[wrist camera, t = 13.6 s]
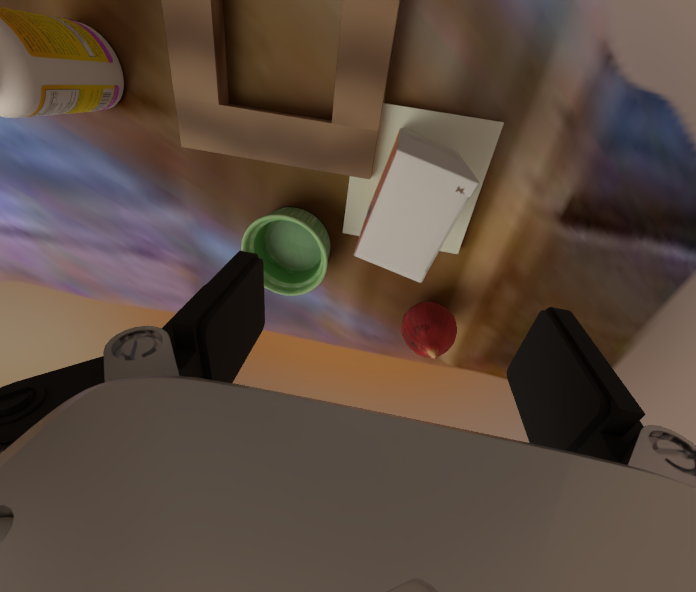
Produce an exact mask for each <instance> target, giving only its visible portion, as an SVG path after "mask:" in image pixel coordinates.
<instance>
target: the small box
mask: <svg viewBox="0 0 696 592" xmlns="http://www.w3.org/2000/svg"><path fill="white" fill-rule="evenodd" d="M479 184H480V183H479V181H478V179H477V178H476V177H475V175H474V174H473V172H472V171H471V170H470V168H469V167H468V166H467V164H466V163H465V162H464V160H463V158H462V157H461V156H460V154H459V153H458V152H457V151H454V150H452V149H450V148H447V147H445V146H443V145H440V144H438V143H436V142H434V141H431V140H429V139H427V138H424V137H422V136H420V135H417V134H415V133H413V132H410V131H408V130H406V129H403V128H400V129H399V132H398V135H397V137H396V140H395V143H394V145H393V148H392V150H391V153H390V155H389V158H388V161H387V163H386V166H385V168H384V170H383V173H382V175H381V178H380V180H379V183H378V185H377V188H376V190H375V193H374V195H373V197H372V200H371V202H370V205H369V207H368V211H367V214H366V217H365V220H364V223H363V227H362V230H361V233H360V235H359V239H358V242H357V245H356V248H355V251H354V256H356V257H358V258H361V259H363V260H366V261H368V262H371V263H373V264H375V265H378V266H380V267H383V268H385V269H388V270H390V271H393V272H395V273H397V274H400V275H402V276H405V277H407V278H410V279H412V280H415V281H417V282H420V283H421V282H422V281H423V280H424V278H425V276H426V274H427V272H428V270H429V268H430V266H431V264H432V262H433V261H434V259H435V257H436V255H437V254H438V252H439V250H440V249H441V247H442V245H443V243H444V242H445V240H446V238H447V236H448V235H449V233H450V231H451V230H452V228H453V226H454V224H455V223H456V221H457V219H458V218H459V216H460V214H461V213H462V211H463V209H464V208H465V206H466V204H467V203H468V201H469V200H470V198H471V197H472V195H473V194H474V192H475V191H476V189H477V188H478V186H479Z"/></svg>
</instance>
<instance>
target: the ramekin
mask: <svg viewBox="0 0 696 592" xmlns="http://www.w3.org/2000/svg"><path fill="white" fill-rule="evenodd" d="M241 251H245V252H251V253H256V254H258V257H259V258H260V259H263V264H264V287H265V288H267V289H268V290H271V291H273V292H275V293H278V294H282V295H301V294H305V293H307V292H310V291H312V290H313V289H315V288H316V287H317V286H318V285H319V284H320V283H321V282H322V280H323V279H324V277H325V275H326V272H327V267H328V258H329V254H330V239H329V235H328V233H327V230H326V229H325V227H324V225H323V224H322V223H321V221H320V220H319V219H318V218H317V217H315V216H314V215H313V214H311V213H309V212H308V211H305V210H303V209H299V208H294V207H286V208H281V209H278V210H275V211H273V212H272V213H270V214H269V215H266V216H263V217H261V218H259V219H257V220H256V221H254V222H253V223H252V224H251V225H250V226H249V227H248V228H247V230H246V231H245V233H244V236H243V239H242V245H241Z"/></svg>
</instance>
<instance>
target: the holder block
mask: <svg viewBox="0 0 696 592" xmlns="http://www.w3.org/2000/svg"><path fill="white" fill-rule="evenodd" d="M400 3H401V0H343V5H342V16H341V27H340V38H339V49H338V60H337V70H336V81H335V92H334V103H333V114H332V121H331V120H325V119H319V118H313V117H307V116H301V115H295V114H289V113H283V112H277V111H270V110H264V109H258V108H252V107H246V106H240V105H234V104H229V94H228V78H227V62H226V45H225V29H224V13H223V0H161V4H162V11H163V18H164V25H165V32H166V39H167V47H168V54H169V61H170V68H171V75H172V82H173V89H174V96H175V104H176V111H177V118H178V125H179V132H180V139H181V146H182V147H186V148H192V149H197V150H203V151H209V152H215V153H220V154H226V155H232V156H237V157H243V158H249V159H255V160H260V161H266V162H272V163H278V164H283V165H289V166H295V167H301V168H306V169H312V170H318V171H324V172H329V173H335V174H341V175H347V176H352V177H358V178H364V179H371V175H372V169H373V163H374V157H375V151H376V145H377V139H378V133H379V126H380V120H381V114H382V108H383V103H384V100H385V94H386V88H387V82H388V76H389V70H390V64H391V58H392V52H393V46H394V39H395V33H396V27H397V21H398V15H399V9H400Z"/></svg>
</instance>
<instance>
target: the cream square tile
mask: <svg viewBox="0 0 696 592" xmlns="http://www.w3.org/2000/svg"><path fill="white" fill-rule="evenodd" d="M503 124H504V122H501V121H494V120H488V119H482V118H476V117H469V116H463V115H457V114H451V113H445V112H438V111H432V110H426V109H420V108H413V107H407V106H401V105H395V104H389V103H383V108H382V114H381V120H380V126H379V133H378V139H377V145H376V151H375V157H374V163H373V169H372V175H371V179H364V178H358V177H352V176H350V179H349V186H348V194H347V202H346V210H345V217H344V225H343V233H345V234H351V235H356V236H359V235H360V233H361V230H362V227H363V223H364V220H365V217H366V214H367V211H368V207H369V205H370V202H371V200H372V197H373V195H374V193H375V190H376V188H377V185H378V183H379V180H380V178H381V175H382V173H383V170H384V168H385V166H386V163H387V161H388V158H389V155H390V153H391V150H392V148H393V145H394V143H395V140H396V137H397V135H398V132H399V129H400V128H403V129H406V130H408V131H410V132H413V133H415V134H417V135H420V136H422V137H424V138H427V139H429V140H431V141H434V142H436V143H438V144H440V145H443V146H445V147H447V148H450V149H452V150H454V151H457V152H458V153H459V154H460V156H461V157H462V158H463V160H464V162H465V163H466V164H467V166H468V167H469V168H470V170H471V171H472V172H473V174H474V175H475V177H476V178H477V179H478V181H479V183H480V184H479V186H478V188H477V189H476V191H475V192H474V194H473V195H472V197H471V198H470V200H469V201H468V203H467V204H466V206H465V208H464V209H463V211H462V213H461V214H460V216H459V218H458V219H457V221H456V223H455V224H454V226H453V228H452V230H451V231H450V233H449V235H448V236H447V238H446V240H445V242H444V243H443V245H442V247H441V249H440V250H439V251H443V252H449V253H454V254H458V252H459V249H460V247H461V244H462V241H463V238H464V235H465V232H466V230H467V227H468V224H469V221H470V218H471V215H472V212H473V210H474V207H475V204H476V201H477V198H478V195H479V193H480V190H481V187H482V184H483V181H484V178H485V175H486V173H487V170H488V167H489V164H490V161H491V158H492V156H493V153H494V150H495V147H496V144H497V141H498V139H499V136H500V133H501V130H502V127H503Z"/></svg>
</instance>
